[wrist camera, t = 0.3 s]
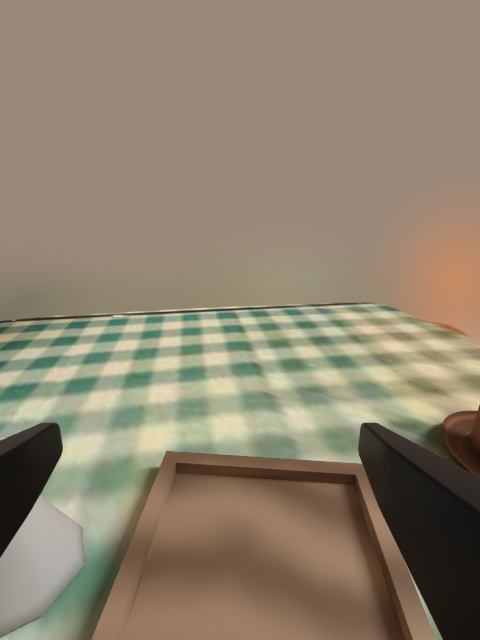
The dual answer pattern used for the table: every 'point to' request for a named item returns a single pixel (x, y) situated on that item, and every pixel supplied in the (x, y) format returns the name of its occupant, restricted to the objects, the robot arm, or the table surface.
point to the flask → (38, 564)
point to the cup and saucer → (464, 438)
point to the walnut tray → (262, 557)
